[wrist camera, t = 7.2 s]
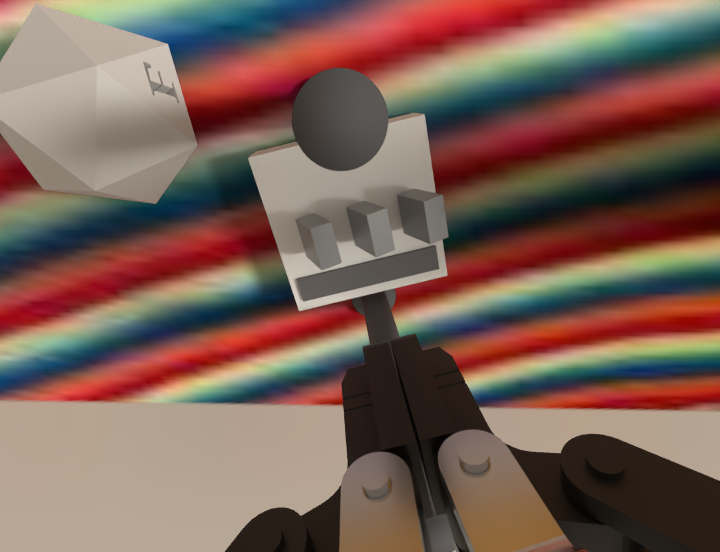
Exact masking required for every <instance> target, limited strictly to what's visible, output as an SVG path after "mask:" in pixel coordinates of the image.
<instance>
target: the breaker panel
mask: <svg viewBox="0 0 720 552" xmlns="http://www.w3.org/2000/svg"><path fill="white" fill-rule="evenodd" d="M248 160H249V163H250V166H251V169H252V172H253V175H254V178H255V181H256V184H257V187H258V190H259V193H260V196H261V199H262V202H263V205H264V208H265V211H266V214H267V217H268V220H269V223H270V226H271V229H272V232H273V235H274V238H275V241H276V244H277V247H278V250H279V253H280V256H281V259H282V262H283V265H284V268H285V270H286V273H287V276H288V279H289V282H290V285H291V288H292V291H293V294H294V297H295V300H296V303H297V306H298V309H299V311H302V310H306V309H310V308H315V307H319V306H323V305H327V304H331V303H335V302H340V301H344V300H348V299H352V298H356V297H360V296H365V295H369V294H373V293H377V292H381V291H385V290H390V289H394V288H398V287H402V286H406V285H410V284H415V283H419V282H423V281H427V280H431V279H435V278H440V277H444V276H448V275H447V268H446V261H445V254H444V247H443V240H440V241H438V242H435V243H433V244H428V243H426V242H423V241H421V240H418V239H416V238H414V237H411V236H409V235H406V234H404V232H403V226H402V221H401V215H400V210H399V205H398V199H397V194H400V193H403V192H406V191H409V190H411V189H419V190H424V191H428V192H433V193H436V191H435V184H434V177H433V170H432V163H431V156H430V149H429V142H428V135H427V128H426V121H425V114H419V113H410V114H406V115H402V116H398V117H393V118H389V119H388V129H387V134H386V137H385V140H384V143H383V145H382V146H381V148H380V150H379V151H378V153H377V154H376V155H375V156H374V157H373V158H372V159H371V160H370V161H369V162H368V163H366V164H364V165H363V166H361V167H359V168H356V169H353V170H349V171H333V170H328V169H325V168H323V167H321V166H319V165H317V164H315V163H314V162H313V161H311V160H310V159H309V158H308V157H307V156H306V155H305V154H304V153H303V151H302V150H301V148H300V147H299V145H298V143H297V141H296V142H292V143H288V144H284V145H280V146H276V147H272V148H268V149H264V150H259V151H256V152H255V153H253V154H252V155H251V156H250V157H248ZM362 201H367V202H370V203H373V204H376V205H379V206H382V207H385V208H387V211H388V216H389V222H390V227H391V232H392V237H393V242H394V247H395V250H394V251H391V252H389V253H386V254H384V255H381V256H379V257H374V256H373V255H371V254H369V253H367V252H366V251H364V250H362V249H361V248H359V247H357V246H356V245H355V243H354V239H353V234H352V230H351V226H350V222H349V218H348V214H347V210H346V207H347V206H350V205H353V204H356V203H359V202H362ZM312 213H315V214H317V215H319V216H321V217H323V218H325V219H327V220H329V221H331V223H332V227H333V231H334V235H335V239H336V242H337V246H338V250H339V254H340V257H341V261H342V263H340V264H338V265H335V266H333V267H330V268H327V269H325V270H321V269H320V268H318V267H317V266H316V265H315V264H314V263H313V262H312V261H311V260H309V259H308V258H307V257H306V253H305V250H304V247H303V244H302V240H301V237H300V234H299V231H298V227H297V224H296V221H295V219H298V218H301V217H304V216H307V215H309V214H312Z"/></svg>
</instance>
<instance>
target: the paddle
mask: <svg viewBox="0 0 720 552" xmlns="http://www.w3.org/2000/svg"><path fill="white" fill-rule="evenodd" d="M295 221H296V224H297V227H298V231H299V234H300V237H301V240H302V244H303V247H304V250H305V253H306V257H307V258H308V259H309V260H311V261H312V262H313V263H314V264H315V265H316V266H317V267H318V268H320V269H321V270H325V269H327V268H330V267H333V266H335V265H338V264H340V263H342V261H341V257H340V254H339V250H338V246H337V242H336V239H335V235H334V231H333V227H332V223H331V221H329V220H327V219H325V218H323V217H321V216H319V215H317V214H315V213H312V214H309V215H307V216H304V217H301V218H298V219H295Z"/></svg>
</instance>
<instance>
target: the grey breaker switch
mask: <svg viewBox="0 0 720 552" xmlns="http://www.w3.org/2000/svg"><path fill="white" fill-rule="evenodd" d="M397 199H398V205H399V210H400V215H401V221H402V226H403V232H404V234H406V235H409V236H411V237H414V238H416V239H418V240H421V241H423V242H426V243H428V244H433V243H435V242H438V241H440V240H443V239H445V238H448V237H449V236H448V229H447V222H446V214H445V207H444V199H443V194H438V193H433V192H428V191H424V190H419V189H411V190H409V191H406V192H403V193H400V194H397Z"/></svg>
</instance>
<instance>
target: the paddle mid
mask: <svg viewBox="0 0 720 552" xmlns="http://www.w3.org/2000/svg"><path fill="white" fill-rule="evenodd" d="M346 210H347V214H348V218H349V222H350V226H351V230H352V234H353V239H354V243H355V245H356V246H357V247H359V248H361V249H362V250H364V251H366V252H367V253H369V254H371V255H373V256H374V257H379V256H381V255H384V254H386V253H389V252H391V251H394V250H395V247H394V242H393V237H392V232H391V227H390V222H389V216H388V211H387V208H385V207H382V206H379V205H376V204H373V203H370V202H367V201H362V202H359V203H356V204H353V205H350V206H347V207H346Z"/></svg>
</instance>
